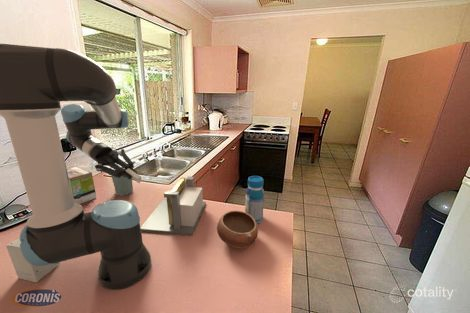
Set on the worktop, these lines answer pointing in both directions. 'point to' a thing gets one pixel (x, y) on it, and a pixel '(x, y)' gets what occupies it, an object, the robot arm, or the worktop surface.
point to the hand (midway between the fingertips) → (139, 179)
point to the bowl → (237, 229)
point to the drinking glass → (122, 185)
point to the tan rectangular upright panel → (179, 188)
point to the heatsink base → (163, 222)
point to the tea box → (81, 184)
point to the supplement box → (26, 264)
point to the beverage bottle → (255, 198)
